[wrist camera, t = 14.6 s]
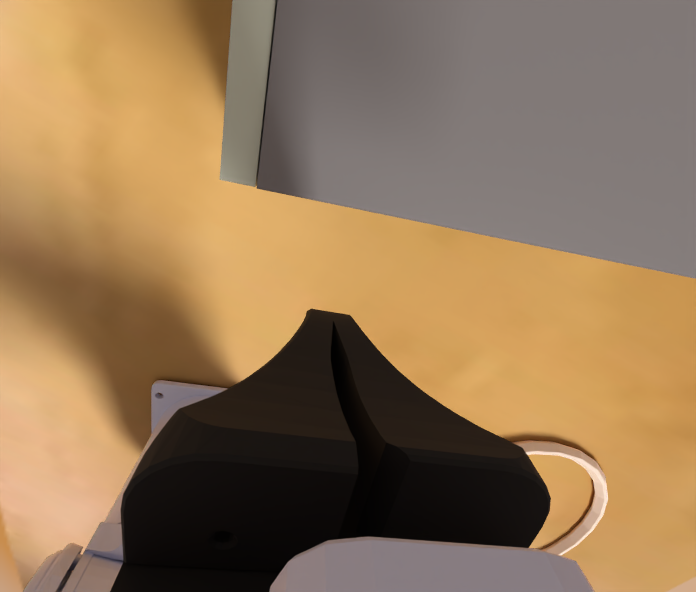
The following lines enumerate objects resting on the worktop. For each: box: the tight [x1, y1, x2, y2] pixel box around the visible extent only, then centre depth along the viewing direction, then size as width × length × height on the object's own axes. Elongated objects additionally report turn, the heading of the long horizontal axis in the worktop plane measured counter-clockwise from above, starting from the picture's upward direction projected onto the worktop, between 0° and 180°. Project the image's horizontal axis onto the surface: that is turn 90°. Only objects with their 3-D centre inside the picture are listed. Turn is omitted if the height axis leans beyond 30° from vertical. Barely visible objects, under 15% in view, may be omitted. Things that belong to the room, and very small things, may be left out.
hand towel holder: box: [512, 440, 608, 556], centre depth 30 cm, size 17×4×21 cm
